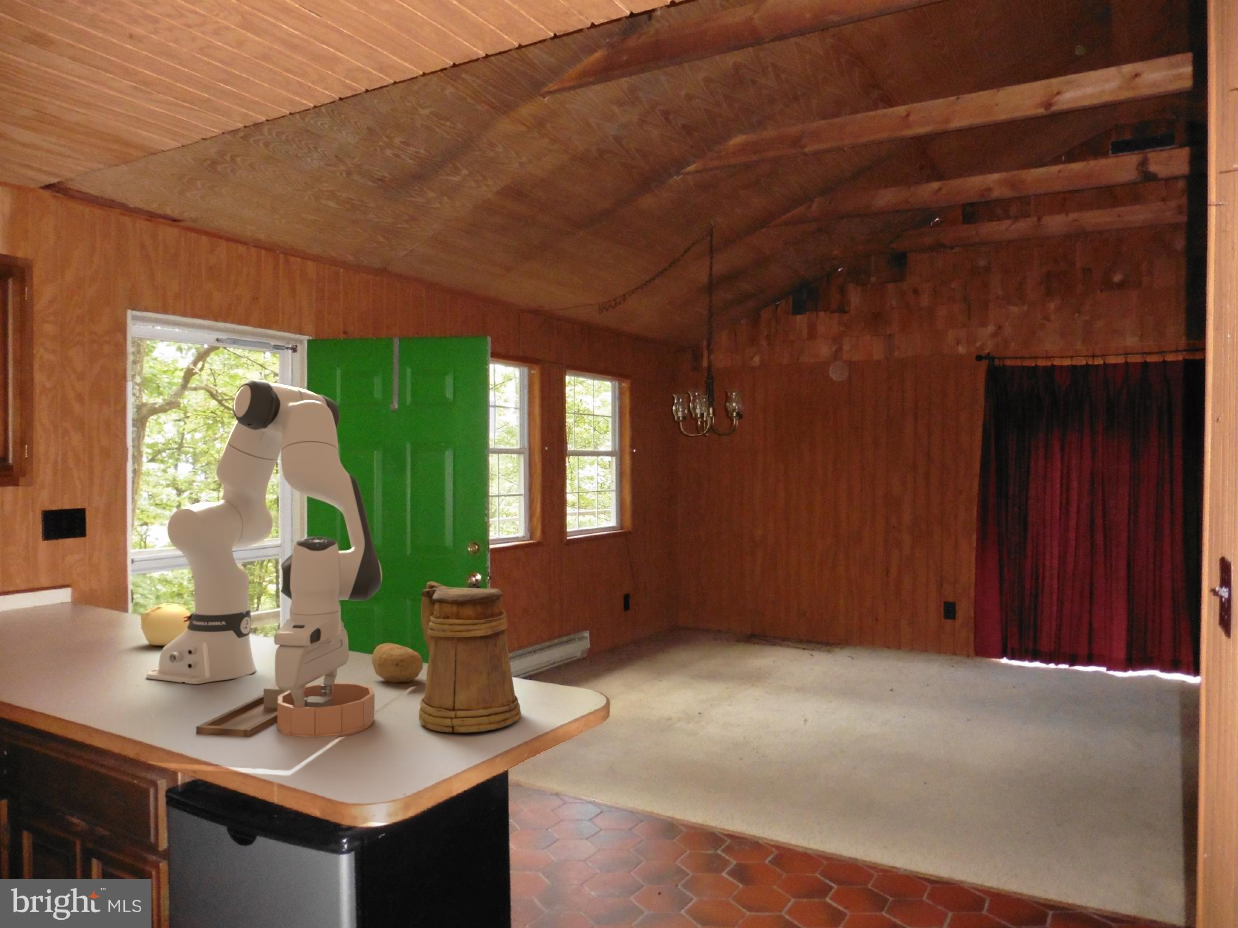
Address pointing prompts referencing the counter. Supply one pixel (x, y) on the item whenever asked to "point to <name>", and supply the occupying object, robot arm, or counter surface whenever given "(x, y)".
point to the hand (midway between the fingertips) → (314, 701)
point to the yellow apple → (164, 623)
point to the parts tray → (241, 720)
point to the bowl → (328, 712)
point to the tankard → (466, 661)
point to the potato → (396, 663)
